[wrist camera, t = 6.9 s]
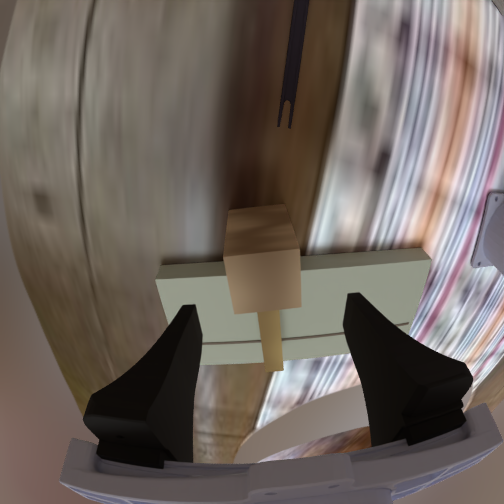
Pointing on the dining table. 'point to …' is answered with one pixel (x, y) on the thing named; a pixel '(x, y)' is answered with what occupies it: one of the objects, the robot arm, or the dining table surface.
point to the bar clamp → (294, 56)
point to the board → (312, 298)
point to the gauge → (263, 271)
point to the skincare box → (499, 5)
